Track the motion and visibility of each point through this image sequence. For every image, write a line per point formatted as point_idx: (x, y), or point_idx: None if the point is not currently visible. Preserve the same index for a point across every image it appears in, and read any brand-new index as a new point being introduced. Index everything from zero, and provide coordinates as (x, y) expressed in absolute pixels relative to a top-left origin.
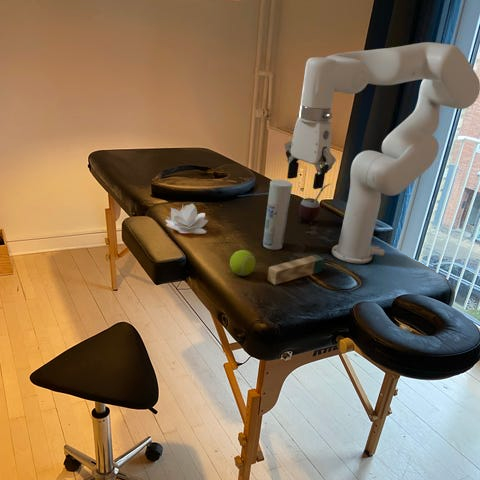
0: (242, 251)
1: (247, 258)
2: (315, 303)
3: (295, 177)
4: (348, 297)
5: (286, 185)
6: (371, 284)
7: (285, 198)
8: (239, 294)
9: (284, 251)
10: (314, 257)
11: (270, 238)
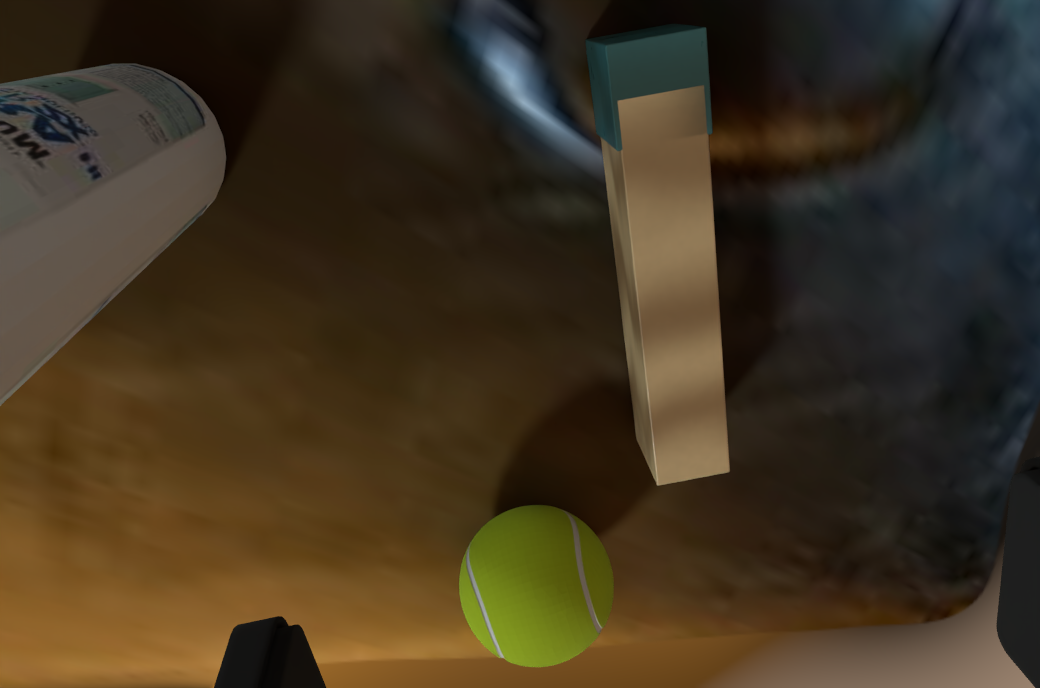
0: (545, 648)
1: (599, 621)
2: (964, 319)
3: (311, 651)
4: (1028, 80)
5: None
6: None
7: (32, 283)
8: (709, 613)
9: (271, 109)
10: (652, 96)
11: (179, 234)
